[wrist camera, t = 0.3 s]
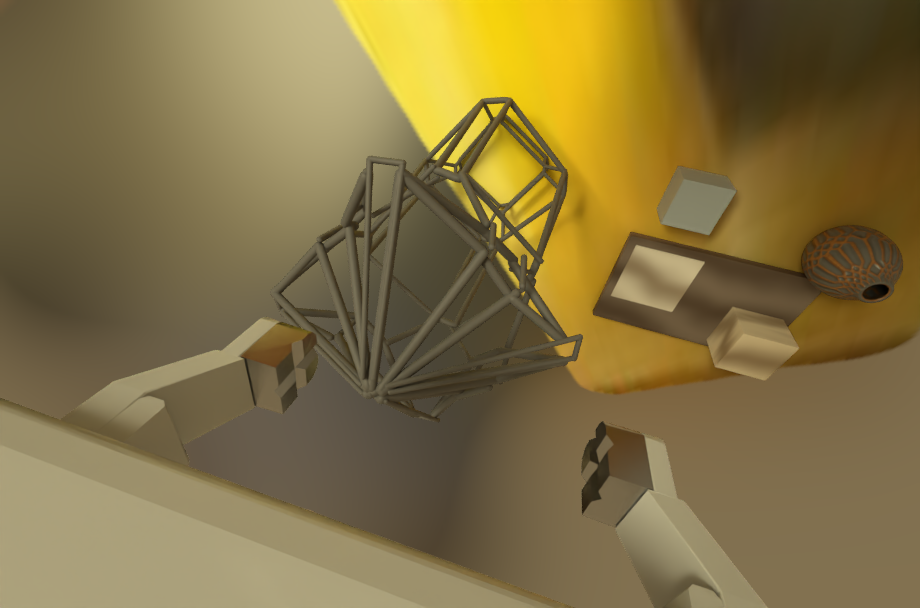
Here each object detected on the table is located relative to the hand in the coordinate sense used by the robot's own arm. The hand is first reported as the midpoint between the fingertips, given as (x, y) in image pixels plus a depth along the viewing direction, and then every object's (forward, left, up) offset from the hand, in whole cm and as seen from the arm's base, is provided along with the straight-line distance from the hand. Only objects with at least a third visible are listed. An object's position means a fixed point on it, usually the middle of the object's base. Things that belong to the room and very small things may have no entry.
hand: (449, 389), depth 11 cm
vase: (+9, +33, -40) cm, 52 cm away
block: (+22, +31, -38) cm, 54 cm away
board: (+19, +24, -39) cm, 50 cm away
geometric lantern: (+8, -4, -40) cm, 40 cm away
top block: (+7, +17, -39) cm, 43 cm away
